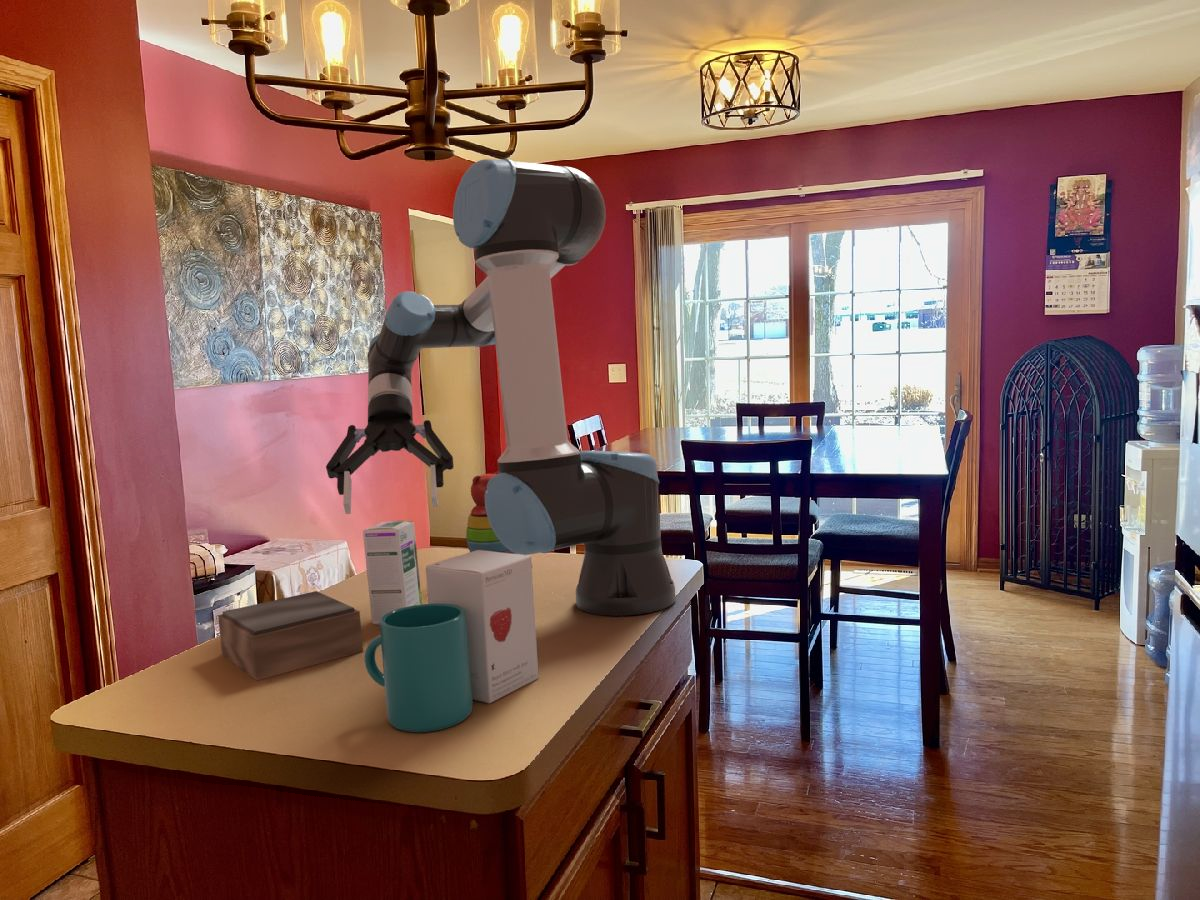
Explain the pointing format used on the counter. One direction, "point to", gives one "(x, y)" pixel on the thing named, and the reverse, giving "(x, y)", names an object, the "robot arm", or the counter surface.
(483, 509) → the stacking bear
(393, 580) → the syrup box
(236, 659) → the plinth
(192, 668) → the counter surface
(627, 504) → the robot arm
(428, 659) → the cup
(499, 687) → the supplement box
